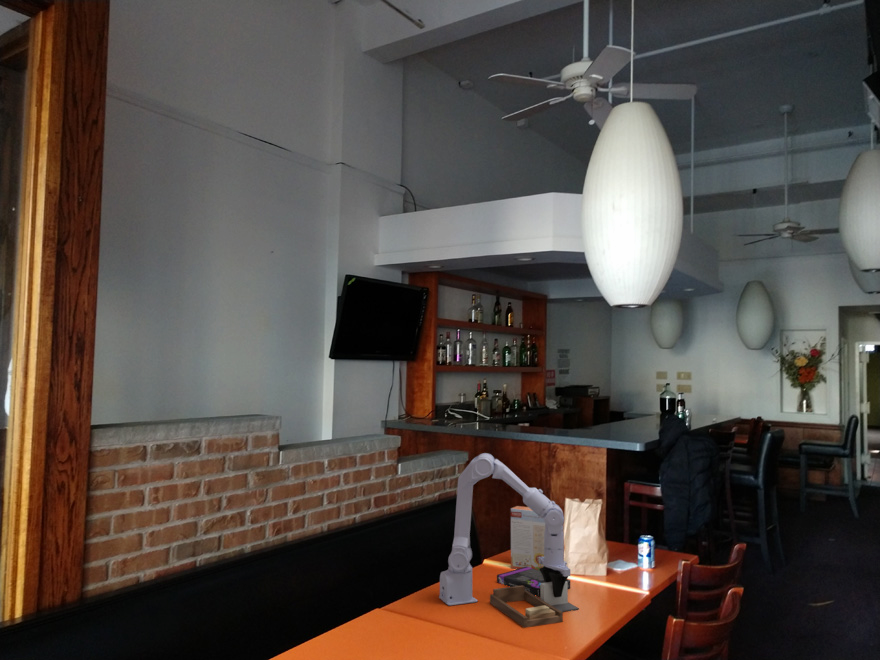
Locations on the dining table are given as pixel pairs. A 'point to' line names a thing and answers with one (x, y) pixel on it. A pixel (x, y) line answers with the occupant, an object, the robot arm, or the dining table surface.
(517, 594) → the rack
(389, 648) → the dining table surface
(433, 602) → the dining table surface
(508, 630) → the dining table surface
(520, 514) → the cracker box
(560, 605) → the mat
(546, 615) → the offcuts
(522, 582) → the box
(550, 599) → the light grey block
